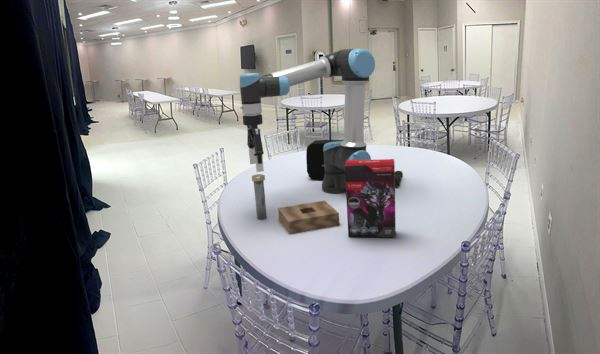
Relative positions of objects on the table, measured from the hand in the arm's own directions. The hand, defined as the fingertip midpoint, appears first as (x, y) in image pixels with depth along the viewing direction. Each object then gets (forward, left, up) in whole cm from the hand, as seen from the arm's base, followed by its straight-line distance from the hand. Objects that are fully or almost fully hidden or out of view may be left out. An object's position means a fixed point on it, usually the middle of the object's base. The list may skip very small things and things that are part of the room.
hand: (256, 167), depth 176 cm
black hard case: (-49, -39, -22) cm, 67 cm away
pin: (0, 0, -22) cm, 22 cm away
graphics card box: (-34, +34, -22) cm, 52 cm away
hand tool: (-72, -17, -22) cm, 78 cm away
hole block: (-16, +13, -22) cm, 30 cm away
